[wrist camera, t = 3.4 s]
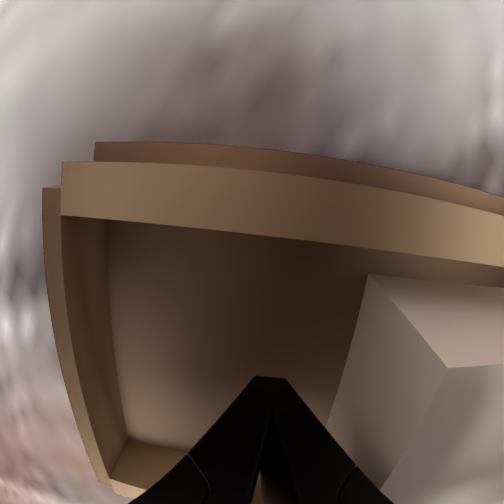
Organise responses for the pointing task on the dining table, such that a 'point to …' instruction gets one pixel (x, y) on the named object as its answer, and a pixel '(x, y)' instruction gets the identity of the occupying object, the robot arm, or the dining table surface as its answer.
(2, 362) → the dining table surface
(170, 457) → the cubby
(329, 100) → the dining table surface
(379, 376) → the cream block
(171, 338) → the deck
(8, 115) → the dining table surface
